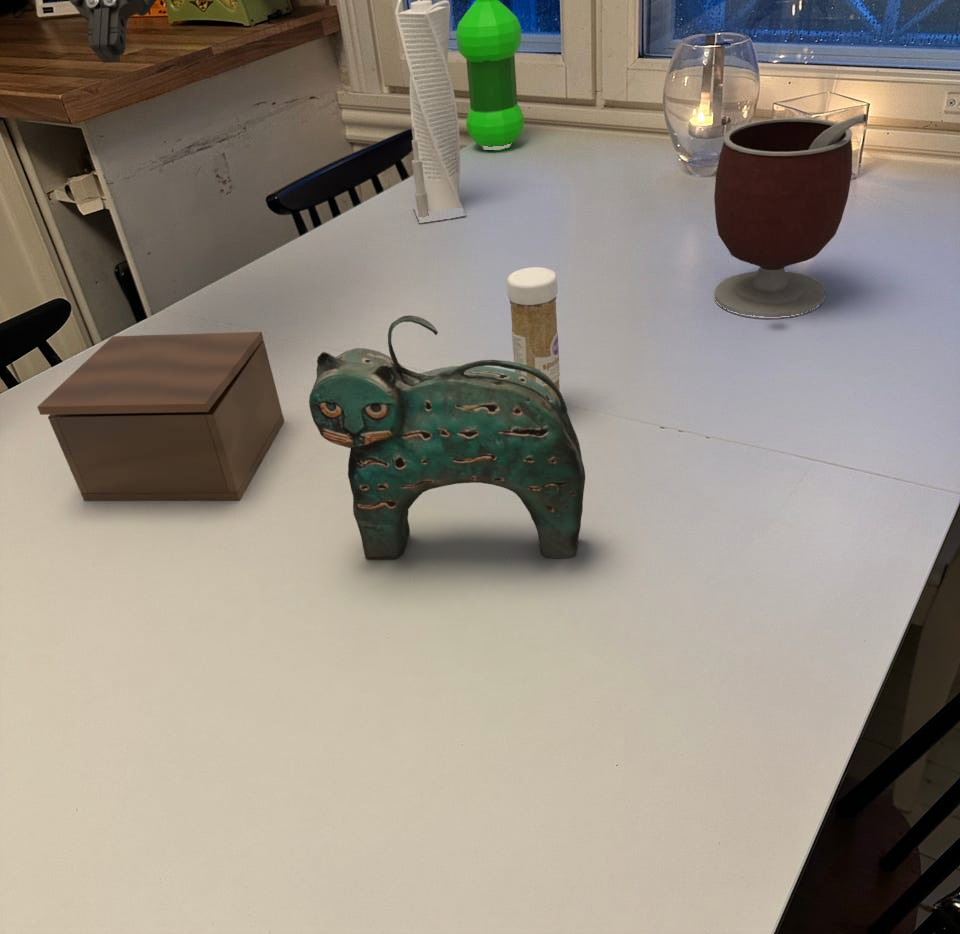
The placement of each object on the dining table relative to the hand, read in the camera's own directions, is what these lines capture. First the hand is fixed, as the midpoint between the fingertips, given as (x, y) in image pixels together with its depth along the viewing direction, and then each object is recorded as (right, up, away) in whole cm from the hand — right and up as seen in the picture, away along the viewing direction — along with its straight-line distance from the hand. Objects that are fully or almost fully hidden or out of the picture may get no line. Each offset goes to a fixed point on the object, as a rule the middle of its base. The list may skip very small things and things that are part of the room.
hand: (105, 56), depth 86 cm
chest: (+5, -34, +9) cm, 36 cm away
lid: (+4, -28, +3) cm, 28 cm away
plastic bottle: (+36, +33, +81) cm, 95 cm away
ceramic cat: (+32, -45, -6) cm, 55 cm away
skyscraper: (+28, +12, +58) cm, 65 cm away
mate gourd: (+67, -13, +24) cm, 73 cm away
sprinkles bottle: (+39, -29, +10) cm, 50 cm away
